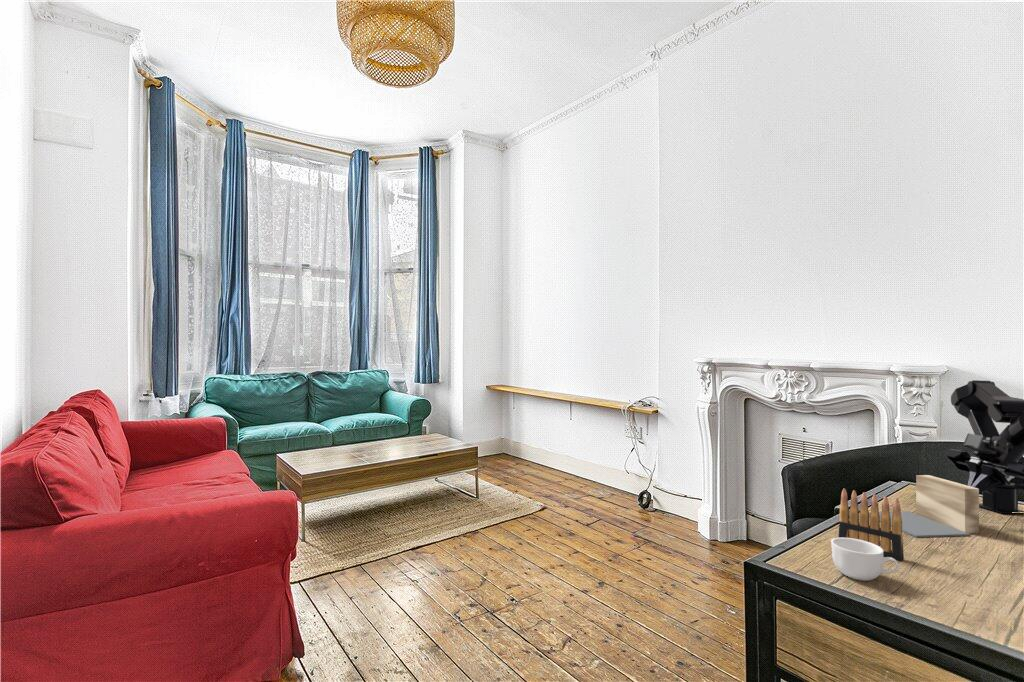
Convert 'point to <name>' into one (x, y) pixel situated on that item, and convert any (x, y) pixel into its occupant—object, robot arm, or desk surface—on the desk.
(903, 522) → the mat
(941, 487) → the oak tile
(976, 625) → the desk surface
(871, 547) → the teacup
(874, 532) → the ammunition clip
